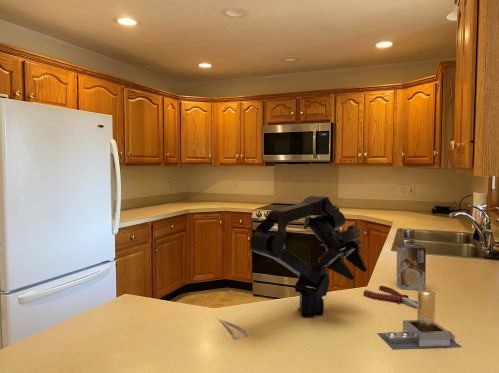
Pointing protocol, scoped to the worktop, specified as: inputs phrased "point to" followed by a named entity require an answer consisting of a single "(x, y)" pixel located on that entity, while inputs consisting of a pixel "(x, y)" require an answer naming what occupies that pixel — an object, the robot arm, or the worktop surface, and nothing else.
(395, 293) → the pliers
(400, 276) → the coffee box
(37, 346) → the worktop surface
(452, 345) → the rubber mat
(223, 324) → the tweezers
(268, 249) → the robot arm
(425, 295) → the amber cylinder
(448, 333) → the grey framed plate
